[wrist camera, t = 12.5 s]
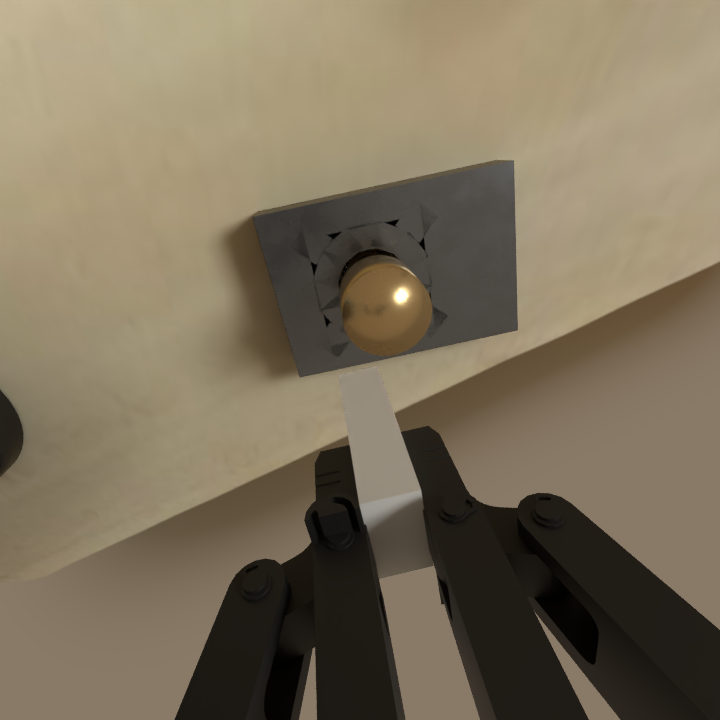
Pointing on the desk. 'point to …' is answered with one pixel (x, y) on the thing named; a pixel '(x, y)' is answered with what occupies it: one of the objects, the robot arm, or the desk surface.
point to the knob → (383, 304)
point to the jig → (410, 245)
